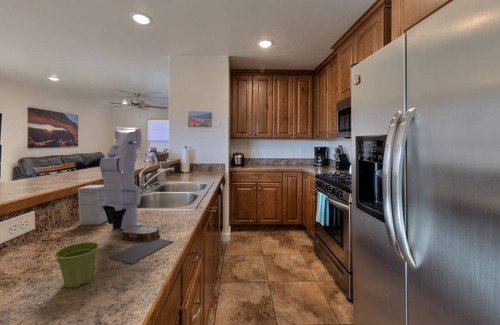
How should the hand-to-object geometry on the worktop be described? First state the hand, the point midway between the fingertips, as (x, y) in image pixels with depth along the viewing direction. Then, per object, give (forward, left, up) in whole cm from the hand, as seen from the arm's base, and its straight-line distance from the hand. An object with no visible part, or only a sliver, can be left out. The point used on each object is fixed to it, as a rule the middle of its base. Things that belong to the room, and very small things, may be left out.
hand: (114, 225), depth 88 cm
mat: (+15, -1, -6) cm, 16 cm away
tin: (+5, +3, -4) cm, 7 cm away
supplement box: (-30, +13, -6) cm, 33 cm away
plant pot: (+15, -22, -6) cm, 27 cm away
